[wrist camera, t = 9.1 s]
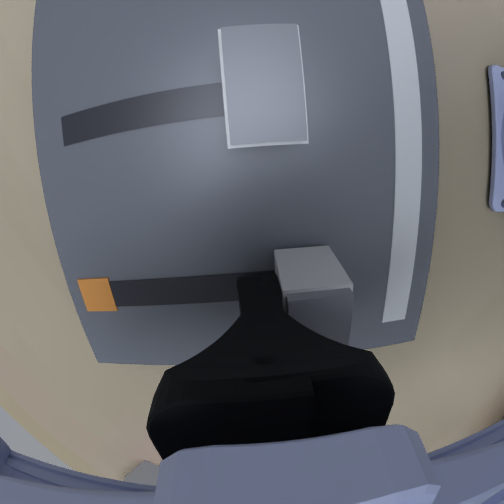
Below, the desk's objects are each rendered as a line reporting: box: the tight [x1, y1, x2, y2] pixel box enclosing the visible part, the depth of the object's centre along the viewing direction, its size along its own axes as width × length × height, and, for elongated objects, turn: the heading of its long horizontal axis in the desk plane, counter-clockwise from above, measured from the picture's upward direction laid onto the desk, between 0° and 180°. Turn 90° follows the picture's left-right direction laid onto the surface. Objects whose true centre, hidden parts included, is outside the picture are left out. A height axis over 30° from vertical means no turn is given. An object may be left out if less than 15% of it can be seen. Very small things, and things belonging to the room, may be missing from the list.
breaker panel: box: [32, 0, 439, 365], centre depth 9 cm, size 16×22×5 cm
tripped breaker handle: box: [274, 245, 354, 346], centre depth 10 cm, size 2×3×3 cm, turn 5°
